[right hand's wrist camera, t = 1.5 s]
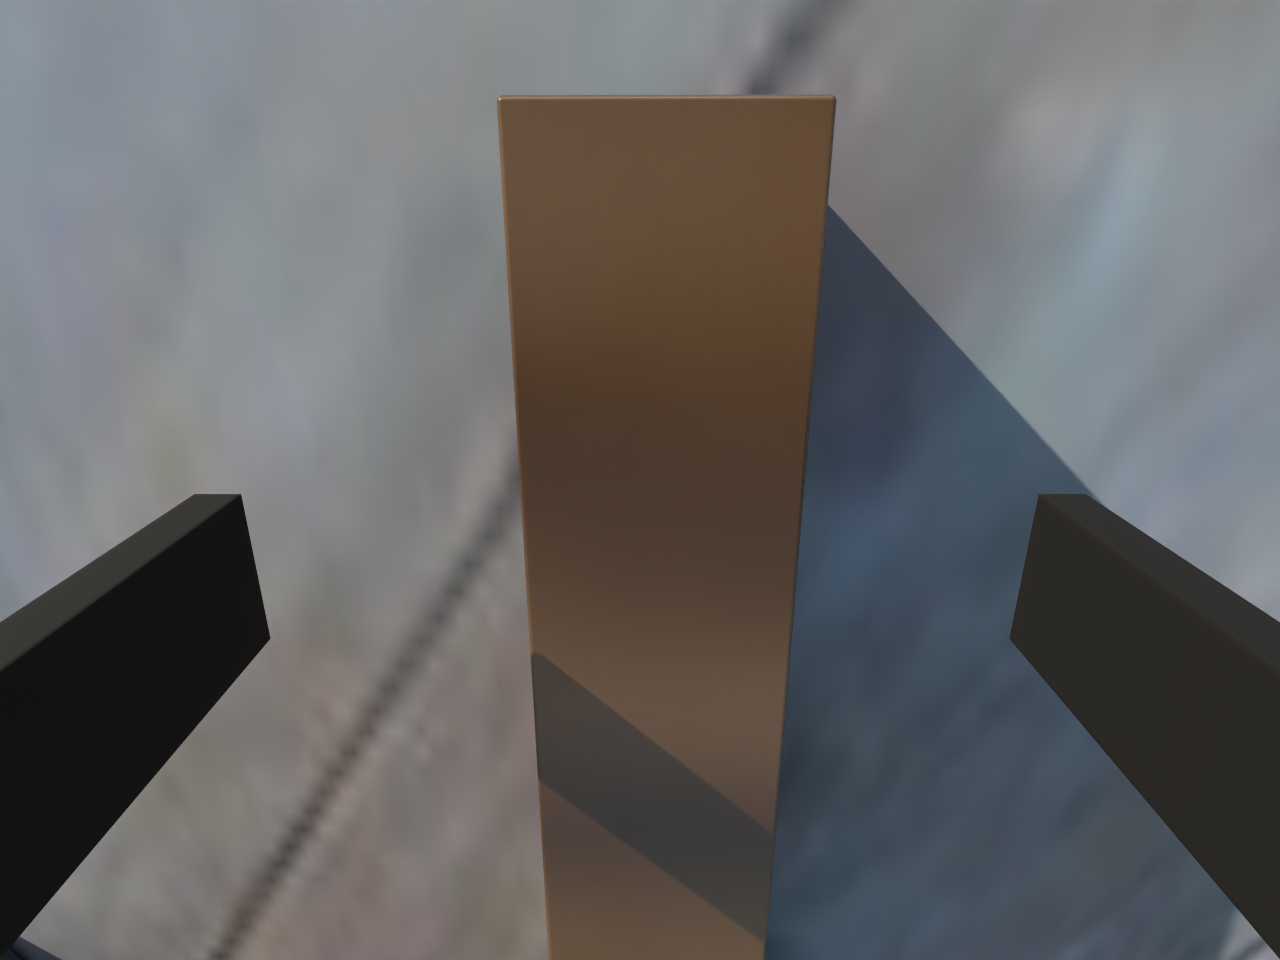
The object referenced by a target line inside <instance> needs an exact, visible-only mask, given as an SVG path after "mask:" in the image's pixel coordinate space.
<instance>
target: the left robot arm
mask: <svg viewBox="0 0 1280 960" xmlns="http://www.w3.org/2000/svg"><path fill="white" fill-rule="evenodd" d="M0 960H21V959H20V958H19V957H18V956H16V955H15V954H14V953H13V952H12V951H11V950H10V949H8V950H7V951H6V953H5V954H4V955H3V956H2V957H1V958H0Z"/></svg>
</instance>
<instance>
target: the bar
mask: <svg viewBox="0 0 1280 960" xmlns="http://www.w3.org/2000/svg"><path fill="white" fill-rule="evenodd" d="M497 111H498V127H499V144H500V160H501V177H502V193H503V210H504V226H505V242H506V259H507V275H508V292H509V308H510V325H511V341H512V357H513V374H514V390H515V407H516V423H517V439H518V456H519V472H520V489H521V505H522V522H523V538H524V554H525V571H526V587H527V604H528V620H529V637H530V653H531V669H532V686H533V702H534V719H535V735H536V751H537V768H538V784H539V801H540V817H541V834H542V850H543V866H544V883H545V899H546V916H547V932H548V949H549V960H765V950H766V938H767V926H768V914H769V902H770V890H771V878H772V866H773V854H774V842H775V830H776V818H777V806H778V794H779V782H780V770H781V758H782V746H783V734H784V722H785V710H786V698H787V686H788V674H789V662H790V650H791V638H792V627H793V615H794V603H795V591H796V579H797V567H798V555H799V543H800V531H801V519H802V507H803V495H804V483H805V471H806V459H807V447H808V435H809V423H810V411H811V399H812V387H813V375H814V363H815V351H816V339H817V327H818V315H819V303H820V291H821V279H822V267H823V255H824V243H825V231H826V219H827V207H828V195H829V183H830V171H831V159H832V147H833V135H834V123H835V111H836V98H835V96H833V95H502V96H500V97H498V100H497Z"/></svg>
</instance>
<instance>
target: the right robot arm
mask: <svg viewBox="0 0 1280 960" xmlns="http://www.w3.org/2000/svg"><path fill="white" fill-rule="evenodd" d="M269 640H270V634H269V629H268V624H267V619H266V615H265V610H264V605H263V600H262V595H261V590H260V585H259V580H258V575H257V570H256V565H255V560H254V556H253V551H252V546H251V541H250V536H249V531H248V526H247V521H246V516H245V511H244V506H243V501H242V497H241V494H194V495H193V496H191V497H190V498H188V499H187V500H185V501H184V502H182V503H181V504H179V505H177V506H176V507H174V508H173V509H171V510H170V511H168V512H167V513H165V514H164V515H162V516H161V517H159V518H158V519H156V520H155V521H153V522H152V523H150V524H149V525H147V526H146V527H144V528H143V529H141V530H140V531H138V532H137V533H135V534H134V535H132V536H130V537H129V538H127V539H126V540H124V541H123V542H121V543H120V544H118V545H117V546H115V547H114V548H112V549H111V550H109V551H108V552H106V553H105V554H103V555H102V556H100V557H99V558H97V559H96V560H94V561H93V562H91V563H90V564H88V565H87V566H85V567H83V568H82V569H80V570H79V571H77V572H76V573H74V574H73V575H71V576H70V577H68V578H67V579H65V580H64V581H62V582H61V583H59V584H58V585H56V586H55V587H53V588H52V589H50V590H49V591H47V592H46V593H44V594H43V595H41V596H39V597H38V598H36V599H35V600H33V601H32V602H30V603H29V604H27V605H26V606H24V607H23V608H21V609H20V610H18V611H17V612H15V613H14V614H12V615H11V616H9V617H8V618H6V619H5V620H3V621H2V622H0V958H1V957H2V956H3V955H4V954H5V953H6V951H7V950H8V949H9V948H10V947H11V945H12V944H13V943H14V942H15V941H16V940H17V938H18V937H19V936H20V935H21V934H22V932H23V931H24V930H25V929H26V928H27V926H28V925H29V924H30V923H31V922H32V921H33V919H34V918H35V917H36V916H37V915H38V913H39V912H40V911H41V910H42V909H43V908H44V906H45V905H46V904H47V903H48V902H49V900H50V899H51V898H52V897H53V896H54V894H55V893H56V892H57V891H58V890H59V889H60V887H61V886H62V885H63V884H64V883H65V881H66V880H67V879H68V878H69V877H70V875H71V874H72V873H73V872H74V871H75V870H76V868H77V867H78V866H79V865H80V864H81V862H82V861H83V860H84V859H85V858H86V857H87V855H88V854H89V853H90V852H91V851H92V849H93V848H94V847H95V846H96V845H97V843H98V842H99V841H100V840H101V839H102V838H103V836H104V835H105V834H106V833H107V832H108V830H109V829H110V828H111V827H112V826H113V825H114V823H115V822H116V821H117V820H118V819H119V817H120V816H121V815H122V814H123V813H124V811H125V810H126V809H127V808H128V807H129V806H130V804H131V803H132V802H133V801H134V800H135V798H136V797H137V796H138V795H139V794H140V793H141V791H142V790H143V789H144V788H145V787H146V785H147V784H148V783H149V782H150V781H151V779H152V778H153V777H154V776H155V775H156V774H157V772H158V771H159V770H160V769H161V768H162V766H163V765H164V764H165V763H166V762H167V761H168V759H169V758H170V757H171V756H172V755H173V753H174V752H175V751H176V750H177V749H178V747H179V746H180V745H181V744H182V743H183V742H184V740H185V739H186V738H187V737H188V736H189V734H190V733H191V732H192V731H193V730H194V729H195V727H196V726H197V725H198V724H199V723H200V721H201V720H202V719H203V718H204V717H205V715H206V714H207V713H208V712H209V711H210V710H211V708H212V707H213V706H214V705H215V704H216V702H217V701H218V700H219V699H220V698H221V697H222V695H223V694H224V693H225V692H226V691H227V689H228V688H229V687H230V686H231V685H232V683H233V682H234V681H235V680H236V679H237V678H238V676H239V675H240V674H241V673H242V672H243V670H244V669H245V668H246V667H247V666H248V665H249V663H250V662H251V661H252V660H253V659H254V657H255V656H256V655H257V654H258V653H259V651H260V650H261V649H262V648H263V647H264V646H265V644H266V643H267V642H268V641H269ZM1010 640H1011V641H1012V642H1013V643H1014V644H1015V646H1016V647H1017V648H1018V649H1019V650H1020V651H1021V653H1022V654H1023V655H1024V656H1025V657H1026V659H1027V660H1028V661H1029V662H1030V663H1031V665H1032V666H1033V667H1034V668H1035V669H1036V670H1037V672H1038V673H1039V674H1040V675H1041V676H1042V678H1043V679H1044V680H1045V681H1046V682H1047V683H1048V685H1049V686H1050V687H1051V688H1052V689H1053V691H1054V692H1055V693H1056V694H1057V695H1058V697H1059V698H1060V699H1061V700H1062V701H1063V702H1064V704H1065V705H1066V706H1067V707H1068V708H1069V710H1070V711H1071V712H1072V713H1073V714H1074V715H1075V717H1076V718H1077V719H1078V720H1079V721H1080V723H1081V724H1082V725H1083V726H1084V727H1085V729H1086V730H1087V731H1088V732H1089V733H1090V734H1091V736H1092V737H1093V738H1094V739H1095V740H1096V742H1097V743H1098V744H1099V745H1100V746H1101V747H1102V749H1103V750H1104V751H1105V752H1106V753H1107V755H1108V756H1109V757H1110V758H1111V759H1112V761H1113V762H1114V763H1115V764H1116V765H1117V766H1118V768H1119V769H1120V770H1121V771H1122V772H1123V774H1124V775H1125V776H1126V777H1127V778H1128V779H1129V781H1130V782H1131V783H1132V784H1133V785H1134V787H1135V788H1136V789H1137V790H1138V791H1139V793H1140V794H1141V795H1142V796H1143V797H1144V798H1145V800H1146V801H1147V802H1148V803H1149V804H1150V806H1151V807H1152V808H1153V809H1154V810H1155V811H1156V813H1157V814H1158V815H1159V816H1160V817H1161V819H1162V820H1163V821H1164V822H1165V823H1166V825H1167V826H1168V827H1169V828H1170V829H1171V830H1172V832H1173V833H1174V834H1175V835H1176V836H1177V838H1178V839H1179V840H1180V841H1181V842H1182V844H1183V845H1184V846H1185V847H1186V848H1187V849H1188V851H1189V852H1190V853H1191V854H1192V855H1193V857H1194V858H1195V859H1196V860H1197V861H1198V862H1199V864H1200V865H1201V866H1202V867H1203V868H1204V870H1205V871H1206V872H1207V873H1208V874H1209V876H1210V877H1211V878H1212V879H1213V880H1214V881H1215V883H1216V884H1217V885H1218V886H1219V887H1220V889H1221V890H1222V891H1223V892H1224V893H1225V894H1226V896H1227V897H1228V898H1229V899H1230V900H1231V902H1232V903H1233V904H1234V905H1235V906H1236V908H1237V909H1238V910H1239V911H1240V912H1241V913H1242V915H1243V916H1244V917H1245V918H1246V919H1247V921H1248V922H1249V923H1250V924H1251V925H1252V926H1253V928H1254V929H1255V930H1256V931H1257V932H1258V934H1259V935H1260V936H1261V937H1262V938H1263V940H1264V941H1265V942H1266V943H1267V944H1268V945H1269V947H1270V948H1271V949H1272V950H1273V951H1274V953H1275V954H1276V955H1277V956H1278V957H1279V958H1280V622H1278V621H1277V620H1275V619H1274V618H1272V617H1271V616H1269V615H1268V614H1266V613H1265V612H1263V611H1262V610H1260V609H1259V608H1257V607H1256V606H1254V605H1253V604H1251V603H1250V602H1248V601H1247V600H1245V599H1244V598H1242V597H1240V596H1239V595H1237V594H1236V593H1234V592H1233V591H1231V590H1230V589H1228V588H1227V587H1225V586H1224V585H1222V584H1221V583H1219V582H1218V581H1216V580H1215V579H1213V578H1212V577H1210V576H1209V575H1207V574H1206V573H1204V572H1203V571H1201V570H1200V569H1198V568H1197V567H1195V566H1193V565H1192V564H1190V563H1189V562H1187V561H1186V560H1184V559H1183V558H1181V557H1180V556H1178V555H1177V554H1175V553H1174V552H1172V551H1171V550H1169V549H1168V548H1166V547H1165V546H1163V545H1162V544H1160V543H1159V542H1157V541H1156V540H1154V539H1153V538H1151V537H1150V536H1148V535H1146V534H1145V533H1143V532H1142V531H1140V530H1139V529H1137V528H1136V527H1134V526H1133V525H1131V524H1130V523H1128V522H1127V521H1125V520H1124V519H1122V518H1121V517H1119V516H1118V515H1116V514H1115V513H1113V512H1112V511H1110V510H1109V509H1107V508H1106V507H1104V506H1103V505H1101V504H1099V503H1098V502H1096V501H1095V500H1093V499H1092V498H1090V497H1089V496H1087V495H1086V494H1039V497H1038V501H1037V506H1036V511H1035V516H1034V521H1033V526H1032V531H1031V536H1030V541H1029V546H1028V551H1027V556H1026V560H1025V565H1024V570H1023V575H1022V580H1021V585H1020V590H1019V595H1018V600H1017V605H1016V610H1015V615H1014V619H1013V624H1012V629H1011V634H1010Z"/></svg>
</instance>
